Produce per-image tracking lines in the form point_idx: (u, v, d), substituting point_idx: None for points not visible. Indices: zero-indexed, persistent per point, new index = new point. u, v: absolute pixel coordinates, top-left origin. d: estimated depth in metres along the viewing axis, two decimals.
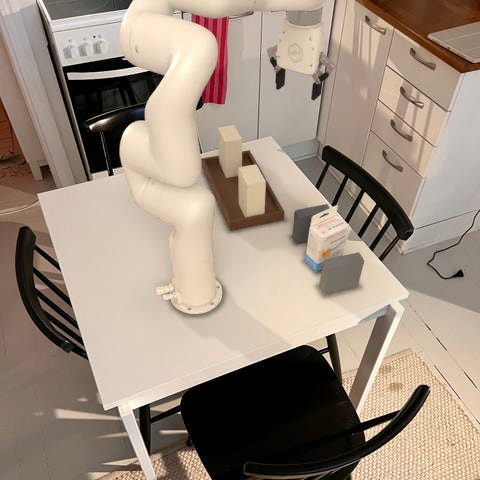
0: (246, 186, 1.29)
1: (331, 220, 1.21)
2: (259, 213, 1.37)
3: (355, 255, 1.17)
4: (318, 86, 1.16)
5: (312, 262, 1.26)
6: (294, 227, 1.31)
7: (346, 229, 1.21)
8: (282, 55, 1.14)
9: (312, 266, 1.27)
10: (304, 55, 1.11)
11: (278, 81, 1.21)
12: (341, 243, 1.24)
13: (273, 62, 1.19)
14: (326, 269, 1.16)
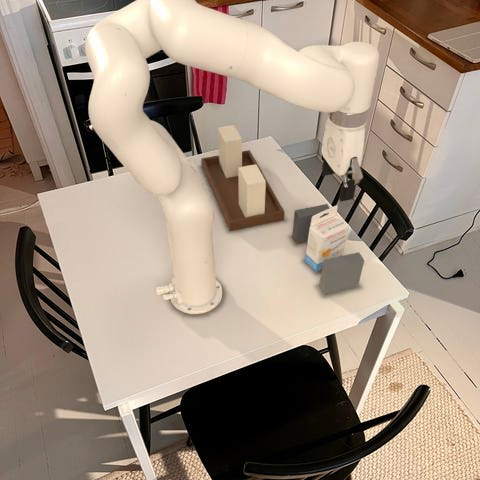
0: (246, 186, 1.29)
1: (331, 220, 1.21)
2: (259, 213, 1.37)
3: (355, 255, 1.17)
4: (346, 189, 1.05)
5: (312, 262, 1.26)
6: (294, 227, 1.31)
7: (346, 229, 1.21)
8: (324, 145, 1.06)
9: (312, 266, 1.27)
10: (335, 153, 1.02)
11: (323, 168, 1.12)
12: (341, 243, 1.24)
13: None
14: (326, 269, 1.16)
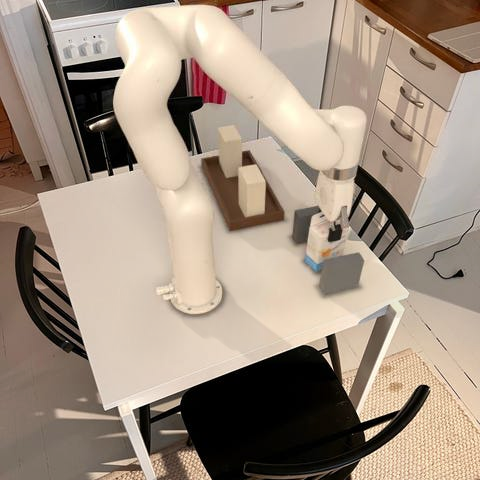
0: (246, 186, 1.29)
1: None
2: (259, 213, 1.37)
3: (355, 255, 1.17)
4: (334, 232, 1.16)
5: (312, 262, 1.26)
6: (294, 227, 1.31)
7: (346, 229, 1.21)
8: (317, 192, 1.15)
9: (312, 266, 1.27)
10: (327, 202, 1.11)
11: None
12: (341, 243, 1.24)
13: None
14: (326, 269, 1.16)
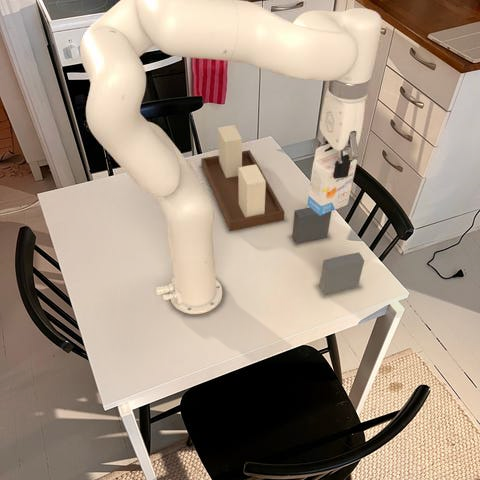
0: (246, 186, 1.29)
1: (337, 155, 1.08)
2: (259, 213, 1.37)
3: (355, 255, 1.17)
4: (341, 166, 1.03)
5: (315, 205, 1.13)
6: (294, 227, 1.31)
7: (354, 165, 1.08)
8: (322, 119, 1.03)
9: (315, 209, 1.14)
10: (334, 127, 0.98)
11: None
12: (348, 183, 1.11)
13: None
14: (326, 269, 1.16)
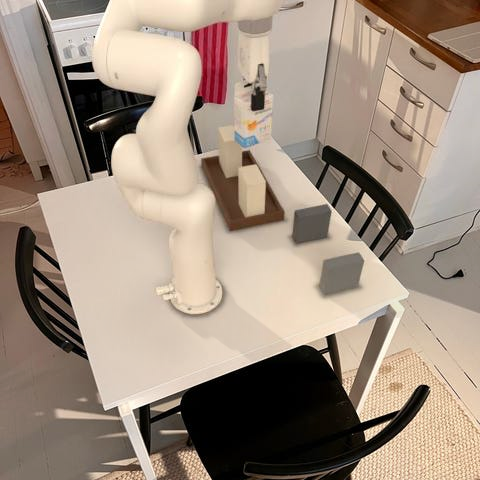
0: (246, 186, 1.29)
1: None
2: (259, 213, 1.37)
3: (355, 255, 1.17)
4: (255, 98, 1.17)
5: (240, 138, 1.26)
6: (294, 227, 1.31)
7: (271, 100, 1.21)
8: (238, 57, 1.16)
9: (240, 142, 1.27)
10: (245, 61, 1.12)
11: None
12: (268, 117, 1.24)
13: None
14: (326, 269, 1.16)
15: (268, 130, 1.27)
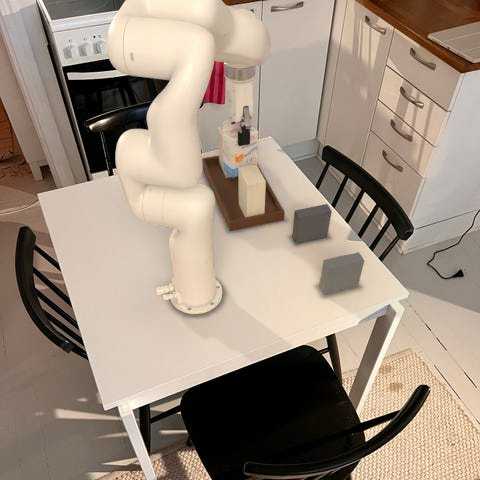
0: (246, 186, 1.29)
1: None
2: (259, 213, 1.37)
3: (355, 255, 1.17)
4: (242, 135, 1.29)
5: (228, 169, 1.39)
6: (294, 227, 1.31)
7: (256, 135, 1.33)
8: (226, 98, 1.28)
9: (229, 173, 1.39)
10: (232, 103, 1.24)
11: None
12: (253, 150, 1.36)
13: None
14: (326, 269, 1.16)
15: (254, 161, 1.39)
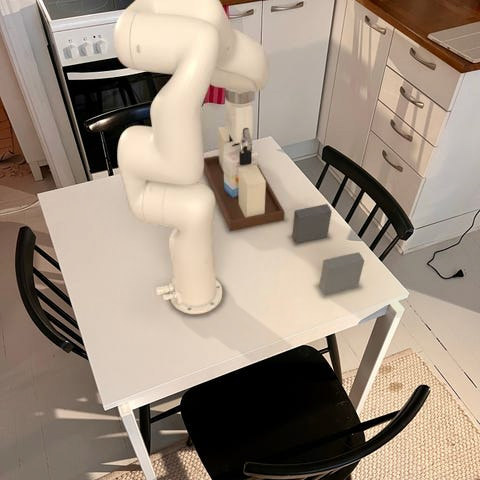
0: (246, 186, 1.29)
1: None
2: (259, 213, 1.37)
3: (355, 255, 1.17)
4: (243, 155, 1.32)
5: (228, 189, 1.44)
6: (294, 227, 1.31)
7: (255, 157, 1.38)
8: (226, 119, 1.32)
9: (229, 192, 1.44)
10: (232, 125, 1.28)
11: (230, 139, 1.39)
12: None
13: None
14: (326, 269, 1.16)
15: None
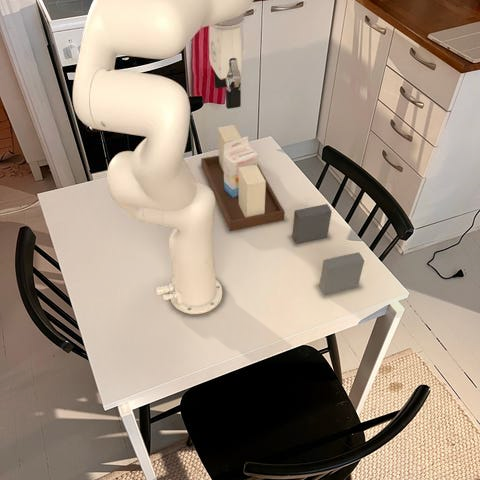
0: (246, 186, 1.29)
1: (243, 150, 1.39)
2: (259, 213, 1.37)
3: (355, 255, 1.17)
4: (230, 94, 1.08)
5: (228, 189, 1.44)
6: (294, 227, 1.31)
7: (255, 157, 1.38)
8: (210, 51, 1.08)
9: (229, 192, 1.44)
10: (216, 56, 1.04)
11: (215, 79, 1.15)
12: None
13: None
14: (326, 269, 1.16)
15: None
